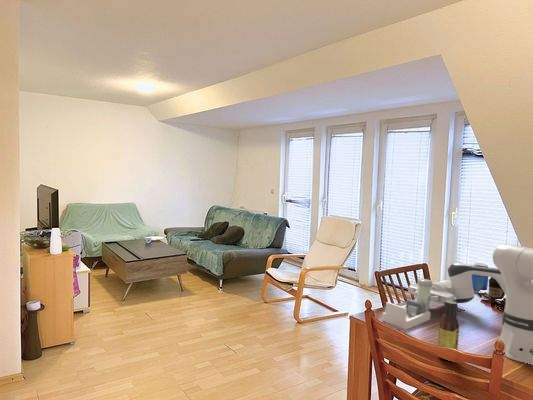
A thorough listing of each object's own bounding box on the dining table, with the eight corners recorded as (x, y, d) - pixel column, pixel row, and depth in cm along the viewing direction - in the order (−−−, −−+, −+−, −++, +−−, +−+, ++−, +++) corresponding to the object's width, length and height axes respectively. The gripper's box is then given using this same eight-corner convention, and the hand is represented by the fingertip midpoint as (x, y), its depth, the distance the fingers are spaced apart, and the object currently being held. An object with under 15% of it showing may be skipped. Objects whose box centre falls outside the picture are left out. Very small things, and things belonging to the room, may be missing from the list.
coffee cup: (501, 306, 196) (504, 281, 195) (483, 301, 202) (486, 277, 201) (507, 303, 201) (510, 279, 201) (490, 299, 208) (492, 275, 207)
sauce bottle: (458, 363, 132) (464, 306, 130) (439, 360, 133) (444, 304, 131) (453, 354, 138) (458, 300, 137) (434, 352, 139) (439, 298, 138)
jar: (431, 314, 178) (434, 281, 177) (425, 317, 174) (428, 283, 173) (418, 310, 183) (421, 278, 182) (412, 312, 179) (415, 279, 178)
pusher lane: (429, 319, 172) (431, 300, 171) (406, 329, 159) (408, 309, 158) (406, 311, 180) (407, 293, 180) (382, 320, 167) (383, 301, 167)
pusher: (424, 317, 172) (425, 304, 171) (420, 318, 169) (421, 306, 169) (407, 311, 178) (408, 299, 178) (402, 312, 176) (403, 300, 175)
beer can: (487, 292, 221) (489, 264, 219) (486, 295, 214) (489, 267, 212) (470, 289, 225) (473, 261, 224) (469, 292, 218) (471, 264, 217)
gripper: (458, 304, 179) (444, 310, 170) (416, 292, 194) (401, 297, 185) (459, 291, 179) (445, 296, 170) (417, 280, 194) (402, 284, 185)
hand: (422, 297), depth 178 cm, fingers closed on jar, 6 cm apart
